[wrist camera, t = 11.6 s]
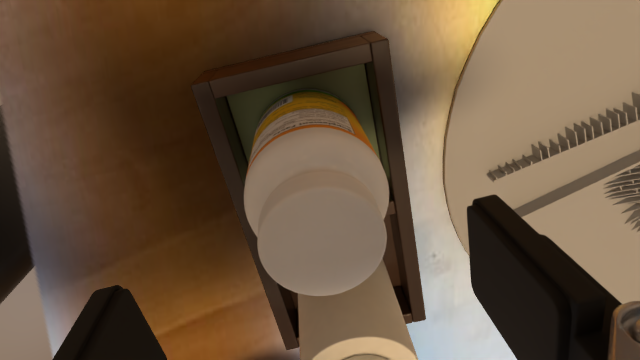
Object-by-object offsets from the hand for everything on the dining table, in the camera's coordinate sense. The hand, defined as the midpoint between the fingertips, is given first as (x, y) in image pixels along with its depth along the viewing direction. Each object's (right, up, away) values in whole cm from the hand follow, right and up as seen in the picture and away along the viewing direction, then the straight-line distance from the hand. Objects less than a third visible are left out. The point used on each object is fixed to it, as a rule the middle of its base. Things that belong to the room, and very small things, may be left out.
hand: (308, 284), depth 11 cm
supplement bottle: (0, +5, +10) cm, 11 cm away
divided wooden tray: (0, +2, +12) cm, 12 cm away
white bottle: (+1, -2, +14) cm, 14 cm away
